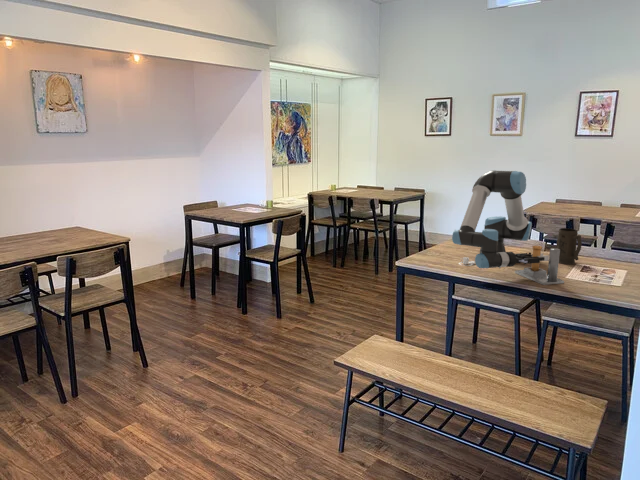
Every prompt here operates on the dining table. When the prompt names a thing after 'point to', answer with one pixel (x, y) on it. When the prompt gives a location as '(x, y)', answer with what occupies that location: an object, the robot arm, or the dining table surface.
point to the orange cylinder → (536, 253)
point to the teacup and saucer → (467, 261)
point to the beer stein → (568, 245)
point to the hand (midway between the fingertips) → (545, 257)
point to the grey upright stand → (541, 274)
